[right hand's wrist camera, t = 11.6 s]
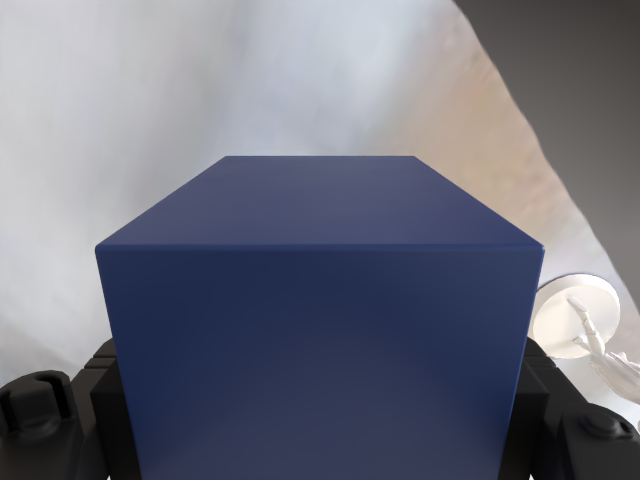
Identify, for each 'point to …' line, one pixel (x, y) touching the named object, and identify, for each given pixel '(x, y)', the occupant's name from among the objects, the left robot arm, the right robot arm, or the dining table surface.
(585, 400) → the right robot arm
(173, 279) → the brick
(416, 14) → the dining table surface
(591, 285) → the figurine
